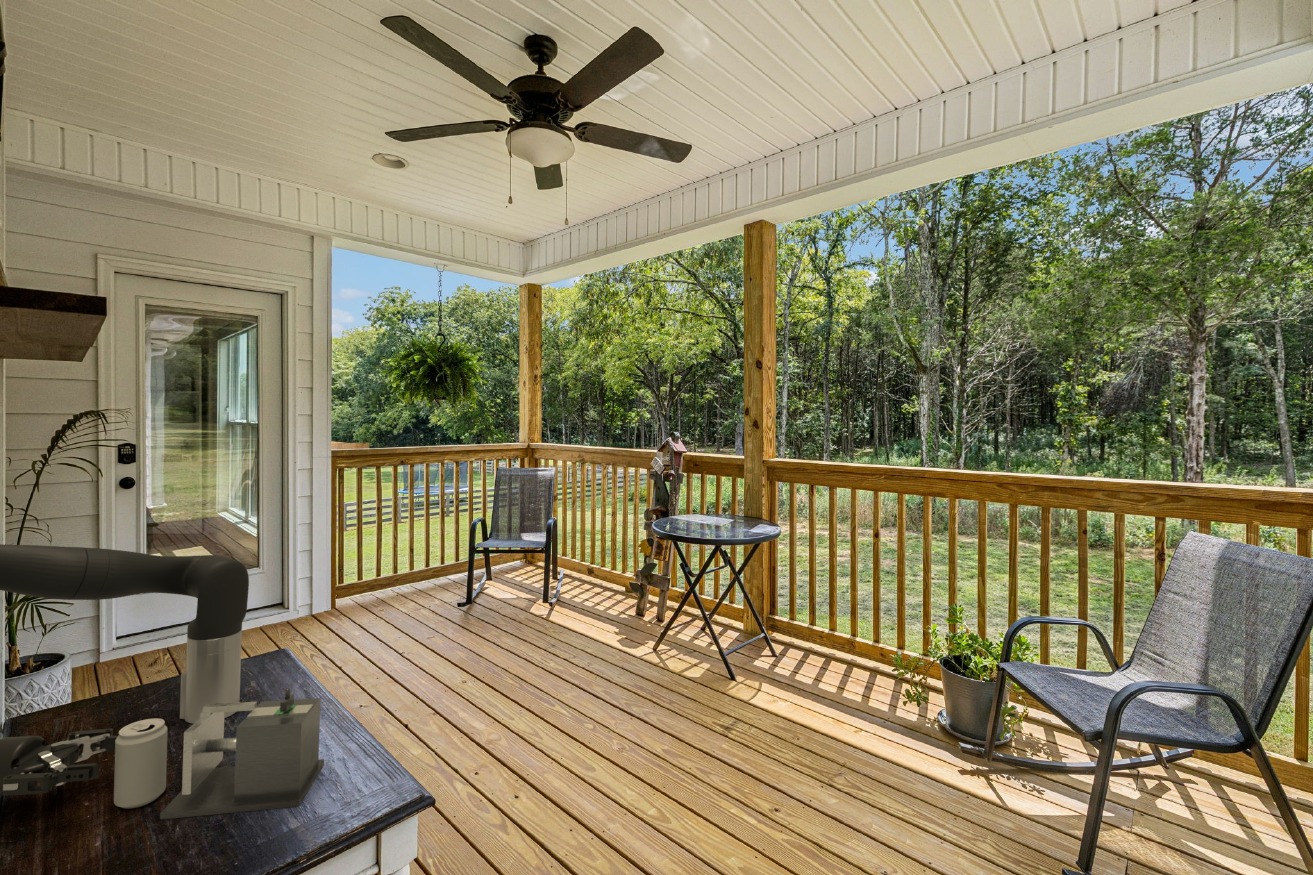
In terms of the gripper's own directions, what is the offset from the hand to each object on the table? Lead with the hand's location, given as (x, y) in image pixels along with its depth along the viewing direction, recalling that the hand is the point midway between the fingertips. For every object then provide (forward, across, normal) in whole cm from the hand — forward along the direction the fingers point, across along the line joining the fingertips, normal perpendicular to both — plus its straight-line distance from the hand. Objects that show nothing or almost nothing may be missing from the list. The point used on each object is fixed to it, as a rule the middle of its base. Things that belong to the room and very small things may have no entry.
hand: (116, 755), depth 94 cm
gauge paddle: (+16, 0, +5) cm, 17 cm away
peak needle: (+25, 0, -6) cm, 25 cm away
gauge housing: (+19, 0, +7) cm, 21 cm away
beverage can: (+3, 0, +8) cm, 8 cm away
